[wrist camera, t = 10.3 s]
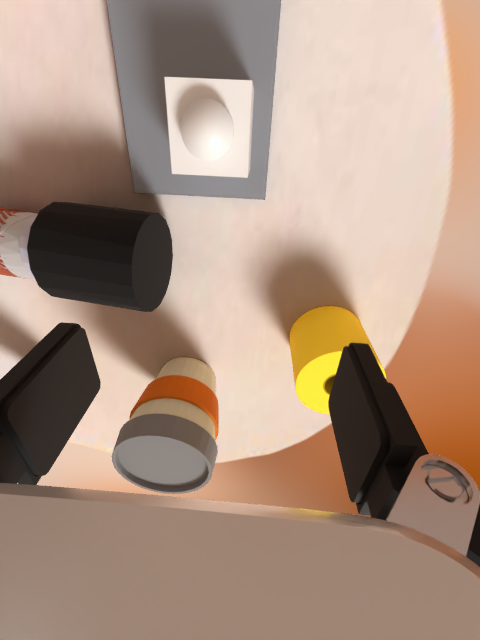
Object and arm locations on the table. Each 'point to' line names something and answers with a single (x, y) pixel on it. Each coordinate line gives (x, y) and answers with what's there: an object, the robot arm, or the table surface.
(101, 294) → the black and white bottle
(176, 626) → the robot arm
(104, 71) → the table surface
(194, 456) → the reusable coffee cup
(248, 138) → the white push button box
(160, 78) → the plate
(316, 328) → the yellow toilet paper roll
